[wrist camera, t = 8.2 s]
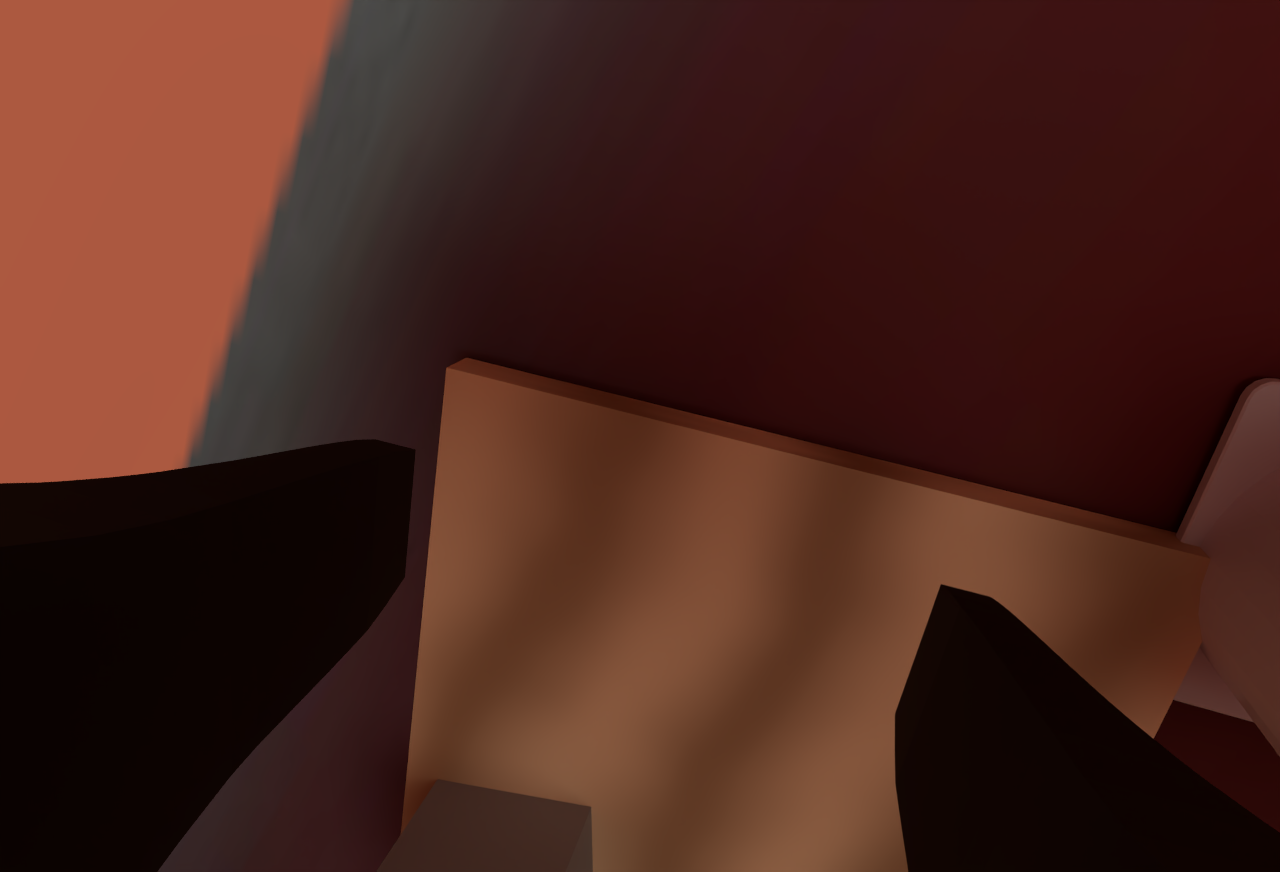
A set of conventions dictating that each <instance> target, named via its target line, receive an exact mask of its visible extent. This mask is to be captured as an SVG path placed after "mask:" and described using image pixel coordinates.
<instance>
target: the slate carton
mask: <svg viewBox="0 0 1280 872" xmlns="http://www.w3.org/2000/svg"><path fill="white" fill-rule="evenodd" d="M376 872H593V855H592V814H591V807H590V806H584V805H579V804H573V803H568V802H562V801H556V800H551V799H545V798H540V797H534V796H529V795H523V794H517V793H512V792H506V791H501V790H495V789H490V788H484V787H478V786H473V785H467V784H462V783H456V782H451V781H445V780H439V779H437V781H436V782H435V784H434V785H433V787H432V788H431V790H430V791H429V793H428V794H427V796H426V797H425V799H424V800H423V802H422V803H421V805H420V806H419V808H418V809H417V811H416V812H415V814H414V815H413V817H412V819H411V820H410V822H409V823H408V825H407V826H406V828H405V829H404V831H403V832H402V834H401V835H400V837H399V838H398V840H397V841H396V843H395V844H394V846H393V847H392V849H391V850H390V852H389V853H388V855H387V856H386V858H385V859H384V861H383V862H382V864H381V865H380V867H379V868H378V870H377V871H376Z"/></svg>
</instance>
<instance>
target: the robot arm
mask: <svg viewBox="0 0 1280 872" xmlns="http://www.w3.org/2000/svg"><path fill="white" fill-rule="evenodd" d="M414 462H415V449H411V448H407V447H403V446H399V445H395V444H391V443H387V442H383V441H379V440H353V441H344V442H337V443H330V444H324V445H318V446H312V447H307V448H301V449H295V450H290V451H284V452H279V453H273V454H268V455H262V456H257V457H251V458H246V459H240V460H234V461H228V462H221V463H215V464H208V465H202V466H195V467H188V468H182V469H175V470H169V471H163V472H156V473H147V474H139V475H130V476H120V477H111V478H98V479H86V480H74V481H61V482H42V483H3V484H0V872H157V871H158V870H159V869H160V867H161V866H162V865H163V863H164V862H165V861H166V859H167V858H168V856H169V855H170V854H171V852H172V851H173V850H174V848H175V847H176V846H177V844H178V843H179V842H180V840H181V839H182V838H183V836H184V835H185V834H186V833H187V831H188V830H189V829H190V827H191V826H192V825H193V824H194V822H195V821H196V820H197V818H198V817H199V816H200V815H201V813H202V812H203V811H204V809H205V808H206V807H207V806H208V804H209V803H210V802H211V801H212V799H213V798H214V797H215V795H216V794H217V793H218V792H219V790H220V789H221V788H222V786H223V785H224V784H225V783H226V781H227V780H228V779H229V777H230V776H231V775H232V774H233V773H234V772H235V770H236V769H237V768H238V767H239V766H240V765H241V764H242V763H243V761H244V760H245V759H246V758H247V757H248V756H249V755H250V753H251V752H252V751H253V750H254V749H255V748H256V747H257V746H258V745H259V744H260V742H261V741H262V740H263V739H264V738H265V737H266V736H267V735H268V734H269V733H270V732H271V731H272V730H273V729H274V728H275V727H276V726H277V725H278V724H279V723H280V722H281V721H282V720H283V719H284V718H285V717H286V715H287V714H288V713H289V712H290V711H291V710H292V709H293V708H294V707H295V706H296V705H297V704H298V703H299V702H300V701H301V700H302V699H303V698H304V697H305V696H306V695H307V694H308V693H309V692H310V691H311V690H312V689H313V687H314V686H315V685H316V684H317V683H318V682H319V681H320V680H321V679H322V678H323V677H324V676H325V675H326V674H327V673H328V672H329V671H330V670H331V669H332V668H333V667H334V666H335V665H336V663H337V662H338V661H339V660H340V659H341V658H342V657H343V656H344V655H345V654H346V653H347V652H348V651H349V650H350V649H351V648H352V646H353V645H354V644H355V643H356V642H357V641H358V640H359V639H360V638H361V637H362V636H363V635H364V633H365V632H366V631H367V630H368V629H369V627H370V626H371V625H372V623H373V622H374V621H375V619H376V618H377V617H378V615H379V614H380V612H381V611H382V610H383V608H384V607H385V606H386V604H387V603H388V601H389V600H390V598H391V597H392V595H393V594H394V592H395V591H396V589H397V588H398V586H399V585H400V583H401V582H402V580H403V579H404V577H405V568H406V556H407V544H408V532H409V521H410V509H411V497H412V485H413V473H414ZM1176 537H1177V538H1178V539H1179V540H1180V542H1183V543H1186V544H1190V545H1194V546H1198V547H1200V548H1201V549H1202V550H1203V551H1204V552H1205V553H1206V554H1207V555H1208V556H1209V557H1210V558H1211V560H1210V563H1209V565H1208V568H1207V571H1206V574H1205V577H1204V580H1203V582H1202V585H1201V592H1200V602H1199V611H1198V616H1199V623H1200V629H1201V636H1202V643H1201V645H1200V647H1199V649H1198V651H1197V653H1196V655H1195V657H1194V659H1193V661H1192V663H1191V665H1190V667H1189V669H1188V671H1187V673H1186V675H1185V677H1184V679H1183V681H1182V683H1181V685H1180V687H1179V689H1178V691H1177V693H1176V695H1175V697H1174V699H1173V700H1175V701H1179V702H1182V703H1186V704H1190V705H1193V706H1197V707H1200V708H1204V709H1208V710H1211V711H1215V712H1218V713H1222V714H1226V715H1229V716H1233V717H1236V718H1240V719H1244V720H1247V721H1251V722H1254V723H1255V724H1256V725H1257V727H1258V728H1259V729H1260V731H1261V732H1262V734H1263V735H1264V736H1265V738H1266V739H1267V740H1268V742H1269V743H1270V744H1271V746H1272V747H1273V748H1274V750H1275V751H1276V752H1277V754H1278V755H1279V756H1280V379H1276V378H1264V379H1261V380H1257V381H1254V382H1253V383H1252V384H1250V385H1249V386H1247V387H1246V388H1245V390H1244V391H1243V392H1242V394H1241V395H1240V397H1239V400H1238V402H1237V404H1236V406H1235V408H1234V410H1233V413H1232V415H1231V417H1230V419H1229V421H1228V423H1227V426H1226V428H1225V430H1224V432H1223V434H1222V436H1221V439H1220V441H1219V443H1218V445H1217V447H1216V449H1215V452H1214V454H1213V456H1212V458H1211V460H1210V462H1209V465H1208V467H1207V469H1206V471H1205V473H1204V475H1203V477H1202V480H1201V482H1200V484H1199V486H1198V488H1197V490H1196V493H1195V495H1194V497H1193V499H1192V501H1191V503H1190V506H1189V508H1188V510H1187V512H1186V514H1185V516H1184V519H1183V521H1182V523H1181V525H1180V527H1179V529H1178V532H1177V534H1176ZM895 785H896V792H897V800H898V807H899V813H900V820H901V827H902V834H903V840H904V847H905V853H906V860H907V866H908V872H1280V833H1279V832H1278V831H1276V830H1275V829H1273V828H1272V827H1270V826H1269V825H1267V824H1266V823H1265V822H1263V821H1262V820H1260V819H1259V818H1258V817H1256V816H1255V815H1254V814H1252V813H1251V812H1249V811H1248V810H1247V809H1245V808H1244V807H1242V806H1241V805H1240V804H1238V803H1237V802H1235V801H1234V800H1233V799H1231V798H1230V797H1228V796H1227V795H1226V794H1224V793H1223V792H1222V791H1220V790H1219V789H1217V788H1216V787H1215V786H1213V785H1212V784H1210V783H1209V782H1208V781H1206V780H1205V779H1204V778H1202V777H1201V776H1200V775H1198V774H1197V773H1196V772H1194V771H1193V770H1192V769H1191V768H1189V767H1188V766H1187V765H1185V764H1184V763H1183V762H1181V761H1180V760H1179V759H1178V758H1176V757H1175V756H1174V755H1173V754H1171V753H1170V752H1169V751H1168V750H1166V749H1165V748H1164V747H1163V746H1162V745H1160V744H1159V743H1158V742H1157V741H1156V740H1154V739H1153V738H1152V737H1151V736H1149V735H1148V734H1147V733H1146V732H1145V731H1143V730H1142V729H1141V728H1140V727H1139V726H1137V725H1136V724H1135V723H1134V722H1132V721H1131V720H1130V719H1129V718H1128V717H1127V716H1125V715H1124V714H1123V713H1122V712H1121V711H1120V710H1118V709H1117V708H1116V707H1115V706H1114V705H1113V704H1112V703H1110V702H1109V701H1108V700H1107V699H1106V698H1105V697H1104V696H1102V695H1101V694H1100V693H1099V692H1098V691H1097V690H1096V689H1095V688H1093V687H1092V686H1091V685H1090V684H1089V683H1088V682H1087V681H1086V680H1085V679H1084V678H1082V677H1081V676H1080V675H1079V674H1078V673H1077V672H1076V671H1075V670H1074V669H1073V668H1071V667H1070V666H1069V665H1068V664H1067V663H1066V662H1065V661H1064V660H1063V659H1062V658H1061V657H1060V656H1058V655H1057V654H1056V653H1055V652H1054V651H1053V650H1052V649H1051V648H1050V647H1049V646H1048V645H1047V644H1045V643H1044V642H1043V641H1042V640H1041V639H1040V638H1039V637H1038V636H1037V635H1036V634H1035V633H1034V632H1033V631H1031V630H1030V629H1029V628H1028V627H1027V626H1026V625H1025V624H1024V623H1023V622H1021V621H1020V620H1019V619H1018V618H1017V617H1016V616H1015V615H1014V614H1012V613H1011V612H1010V611H1009V610H1008V609H1006V608H1005V607H1004V606H1003V605H1001V604H1000V603H999V602H997V601H996V600H995V599H993V598H992V597H990V596H986V595H982V594H978V593H974V592H970V591H966V590H962V589H958V588H954V587H951V586H947V585H943V584H941V585H940V588H939V591H938V594H937V597H936V599H935V602H934V605H933V608H932V611H931V613H930V616H929V619H928V622H927V625H926V628H925V630H924V633H923V636H922V639H921V642H920V644H919V647H918V650H917V653H916V656H915V659H914V661H913V664H912V667H911V670H910V673H909V676H908V678H907V681H906V684H905V687H904V690H903V692H902V695H901V698H900V701H899V704H898V707H897V709H896V712H895Z"/></svg>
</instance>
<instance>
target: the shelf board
mask: <svg viewBox="0 0 1280 872" xmlns="http://www.w3.org/2000/svg"><path fill="white" fill-rule="evenodd" d="M1176 534H1177V533H1175V532H1171V531H1167V530H1163V529H1159V528H1155V527H1151V526H1147V525H1143V524H1139V523H1135V522H1131V521H1127V520H1123V519H1119V518H1115V517H1110V516H1106V515H1102V514H1098V513H1094V512H1090V511H1086V510H1082V509H1078V508H1074V507H1070V506H1066V505H1062V504H1058V503H1054V502H1050V501H1046V500H1042V499H1038V498H1034V497H1029V496H1025V495H1021V494H1017V493H1013V492H1009V491H1005V490H1001V489H997V488H993V487H989V486H985V485H981V484H977V483H973V482H969V481H965V480H961V479H957V478H952V477H948V476H944V475H940V474H936V473H932V472H928V471H924V470H920V469H916V468H912V467H908V466H904V465H900V464H896V463H892V462H888V461H884V460H880V459H875V458H871V457H867V456H863V455H859V454H855V453H851V452H847V451H843V450H839V449H835V448H831V447H827V446H823V445H819V444H815V443H811V442H807V441H803V440H799V439H794V438H790V437H786V436H782V435H778V434H774V433H770V432H766V431H762V430H758V429H754V428H750V427H746V426H742V425H738V424H734V423H730V422H726V421H722V420H717V419H713V418H709V417H705V416H701V415H697V414H693V413H689V412H685V411H681V410H677V409H673V408H669V407H665V406H661V405H657V404H653V403H649V402H645V401H640V400H636V399H632V398H628V397H624V396H620V395H616V394H612V393H608V392H604V391H600V390H596V389H592V388H588V387H584V386H580V385H576V384H572V383H568V382H564V381H559V380H555V379H551V378H547V377H543V376H539V375H535V374H531V373H527V372H523V371H519V370H515V369H511V368H507V367H503V366H499V365H495V364H491V363H487V362H482V361H478V360H474V359H470V358H465V359H463V360H461V361H459V362H457V363H455V364H453V365H451V366H449V367H447V368H446V378H445V388H444V398H443V408H442V419H441V429H440V439H439V449H438V459H437V470H436V480H435V490H434V500H433V511H432V521H431V531H430V541H429V551H428V562H427V572H426V582H425V592H424V602H423V613H422V623H421V633H420V643H419V654H418V664H417V674H416V684H415V694H414V705H413V715H412V725H411V735H410V746H409V756H408V766H407V776H406V786H405V797H404V807H403V817H402V827H401V834H402V832H403V831H404V829H405V828H406V826H407V825H408V823H409V822H410V820H411V819H412V817H413V815H414V814H415V812H416V811H417V809H418V808H419V806H420V805H421V803H422V802H423V800H424V799H425V797H426V796H427V794H428V793H429V791H430V790H431V788H432V787H433V785H434V784H435V782H436V781H437V779H439V780H445V781H451V782H456V783H462V784H467V785H473V786H478V787H484V788H490V789H495V790H501V791H506V792H512V793H517V794H523V795H529V796H534V797H540V798H545V799H551V800H556V801H562V802H568V803H573V804H579V805H584V806H590V807H591V814H592V855H593V872H908V866H907V860H906V853H905V847H904V840H903V834H902V827H901V820H900V813H899V807H898V800H897V792H896V785H895V712H896V709H897V707H898V704H899V701H900V698H901V695H902V692H903V690H904V687H905V684H906V681H907V678H908V676H909V673H910V670H911V667H912V664H913V661H914V659H915V656H916V653H917V650H918V647H919V644H920V642H921V639H922V636H923V633H924V630H925V628H926V625H927V622H928V619H929V616H930V613H931V611H932V608H933V605H934V602H935V599H936V597H937V594H938V591H939V588H940V585H941V584H943V585H947V586H951V587H954V588H958V589H962V590H966V591H970V592H974V593H978V594H982V595H986V596H990V597H992V598H993V599H995V600H996V601H997V602H999V603H1000V604H1001V605H1003V606H1004V607H1005V608H1006V609H1008V610H1009V611H1010V612H1011V613H1012V614H1014V615H1015V616H1016V617H1017V618H1018V619H1019V620H1020V621H1021V622H1023V623H1024V624H1025V625H1026V626H1027V627H1028V628H1029V629H1030V630H1031V631H1033V632H1034V633H1035V634H1036V635H1037V636H1038V637H1039V638H1040V639H1041V640H1042V641H1043V642H1044V643H1045V644H1047V645H1048V646H1049V647H1050V648H1051V649H1052V650H1053V651H1054V652H1055V653H1056V654H1057V655H1058V656H1060V657H1061V658H1062V659H1063V660H1064V661H1065V662H1066V663H1067V664H1068V665H1069V666H1070V667H1071V668H1073V669H1074V670H1075V671H1076V672H1077V673H1078V674H1079V675H1080V676H1081V677H1082V678H1084V679H1085V680H1086V681H1087V682H1088V683H1089V684H1090V685H1091V686H1092V687H1093V688H1095V689H1096V690H1097V691H1098V692H1099V693H1100V694H1101V695H1102V696H1104V697H1105V698H1106V699H1107V700H1108V701H1109V702H1110V703H1112V704H1113V705H1114V706H1115V707H1116V708H1117V709H1118V710H1120V711H1121V712H1122V713H1123V714H1124V715H1125V716H1127V717H1128V718H1129V719H1130V720H1131V721H1132V722H1134V723H1135V724H1136V725H1137V726H1139V727H1140V728H1141V729H1142V730H1143V731H1145V732H1146V733H1147V734H1148V735H1149V736H1151V737H1152V738H1153V739H1154V737H1155V735H1156V733H1157V731H1158V729H1159V727H1160V725H1161V723H1162V721H1163V719H1164V717H1165V715H1166V713H1167V711H1168V709H1169V707H1170V705H1171V703H1172V701H1173V699H1174V697H1175V695H1176V693H1177V691H1178V689H1179V687H1180V685H1181V683H1182V681H1183V679H1184V677H1185V675H1186V673H1187V671H1188V669H1189V667H1190V665H1191V663H1192V661H1193V659H1194V657H1195V655H1196V653H1197V651H1198V649H1199V647H1200V645H1201V643H1202V636H1201V629H1200V623H1199V616H1198V611H1199V602H1200V592H1201V585H1202V582H1203V580H1204V577H1205V574H1206V571H1207V568H1208V565H1209V563H1210V560H1211V558H1210V557H1209V556H1208V555H1207V554H1206V553H1205V552H1204V551H1203V550H1202V549H1201V548H1200V547H1198V546H1194V545H1190V544H1186V543H1183V542H1180V540H1179V539H1178V538H1177V537H1176Z"/></svg>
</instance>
